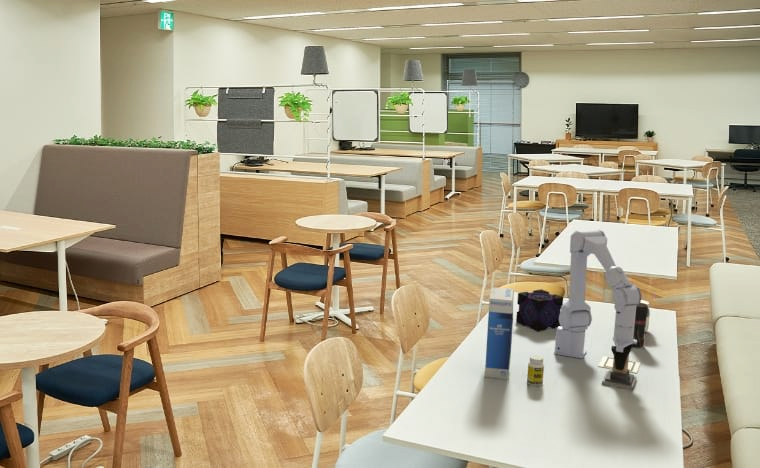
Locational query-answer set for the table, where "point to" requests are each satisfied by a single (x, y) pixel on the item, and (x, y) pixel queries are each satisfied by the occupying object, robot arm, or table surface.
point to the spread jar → (647, 315)
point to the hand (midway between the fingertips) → (620, 366)
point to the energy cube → (539, 310)
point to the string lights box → (499, 333)
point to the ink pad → (619, 381)
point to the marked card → (608, 363)
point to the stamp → (620, 371)
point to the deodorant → (640, 324)
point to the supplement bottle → (535, 371)
